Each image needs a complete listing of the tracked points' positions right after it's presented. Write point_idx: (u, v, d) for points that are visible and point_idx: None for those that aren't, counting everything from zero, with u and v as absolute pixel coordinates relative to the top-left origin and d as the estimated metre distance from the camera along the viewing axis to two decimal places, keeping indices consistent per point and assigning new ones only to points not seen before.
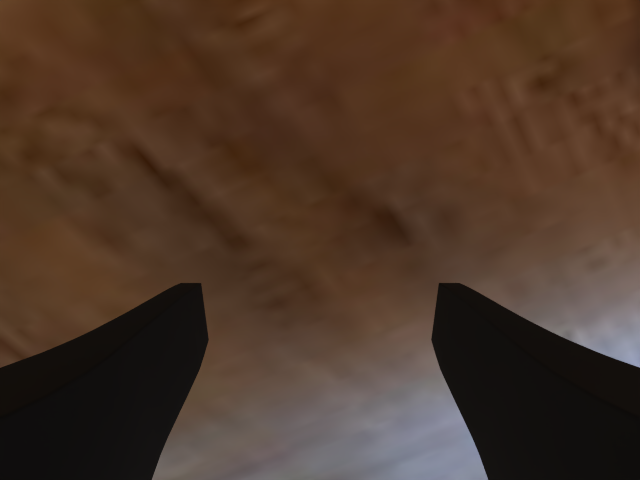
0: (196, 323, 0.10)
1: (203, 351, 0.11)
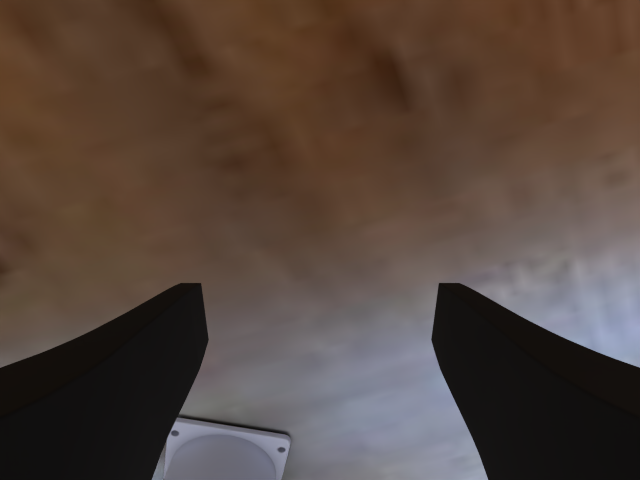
0: (196, 323, 0.10)
1: (203, 351, 0.11)
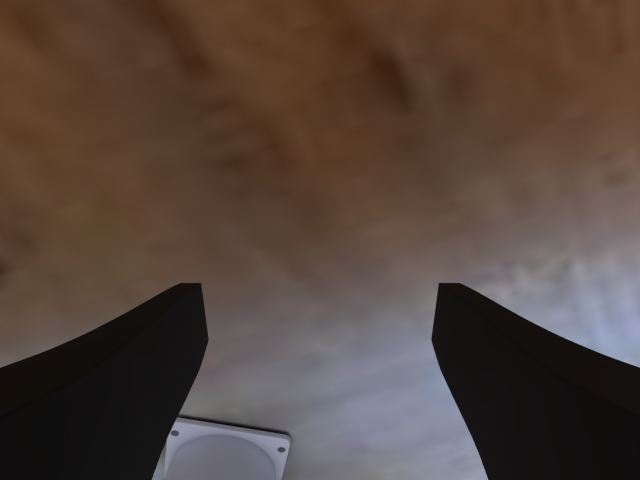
0: (196, 323, 0.10)
1: (203, 351, 0.11)
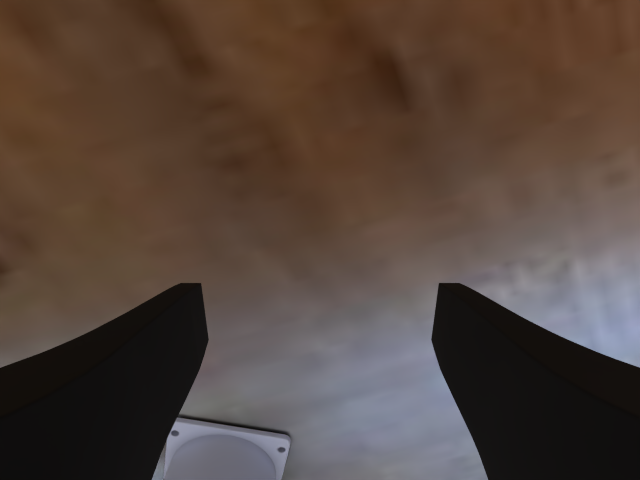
0: (196, 323, 0.10)
1: (203, 351, 0.11)
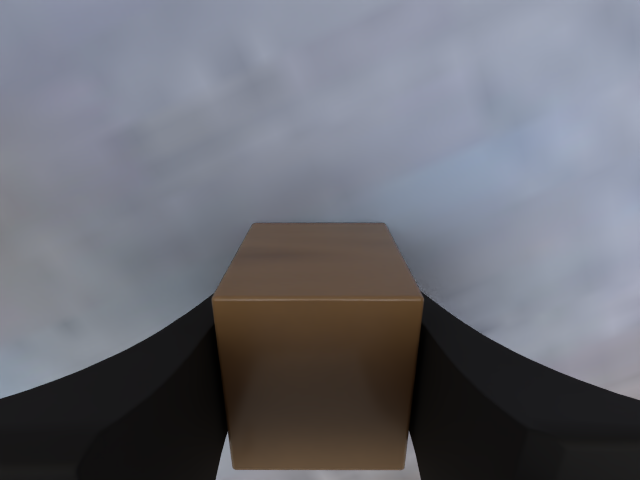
0: None
1: None
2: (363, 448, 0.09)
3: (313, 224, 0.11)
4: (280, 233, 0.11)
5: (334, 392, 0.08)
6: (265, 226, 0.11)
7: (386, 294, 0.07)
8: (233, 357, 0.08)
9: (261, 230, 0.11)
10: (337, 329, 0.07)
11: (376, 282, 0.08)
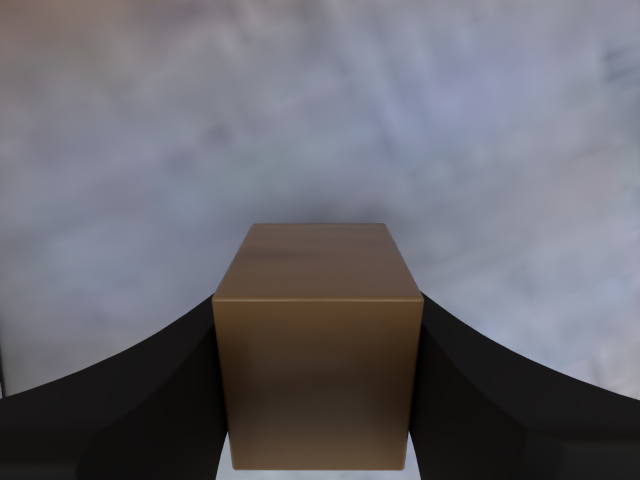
0: None
1: None
2: (362, 449, 0.09)
3: (313, 224, 0.11)
4: (280, 233, 0.11)
5: (334, 392, 0.08)
6: (265, 226, 0.11)
7: (386, 294, 0.07)
8: (233, 357, 0.08)
9: (261, 231, 0.11)
10: (337, 329, 0.07)
11: (376, 282, 0.08)
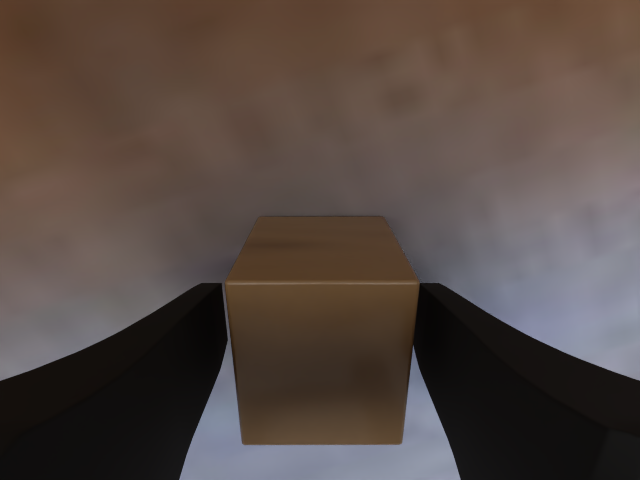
0: (217, 323, 0.10)
1: (223, 351, 0.11)
2: (363, 424, 0.09)
3: (316, 217, 0.12)
4: (285, 226, 0.11)
5: (337, 370, 0.09)
6: (270, 219, 0.12)
7: (384, 278, 0.08)
8: (244, 337, 0.08)
9: (266, 223, 0.11)
10: (340, 310, 0.08)
11: (376, 268, 0.08)
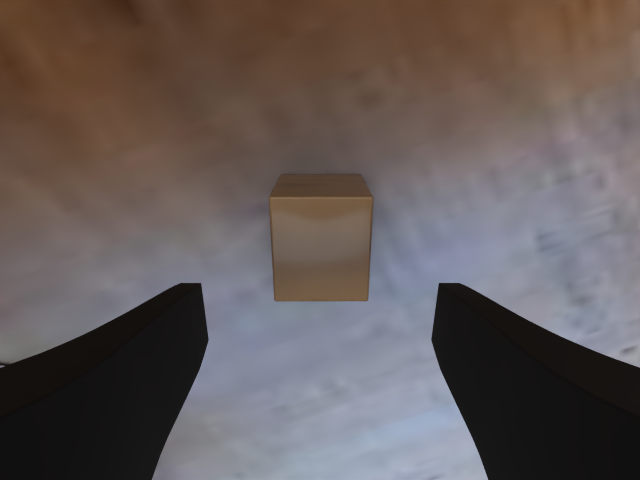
0: (196, 323, 0.10)
1: (203, 351, 0.11)
2: (345, 286, 0.16)
3: (317, 175, 0.19)
4: (298, 178, 0.18)
5: (329, 251, 0.15)
6: (288, 175, 0.19)
7: (354, 195, 0.15)
8: (278, 230, 0.15)
9: (286, 177, 0.18)
10: (330, 214, 0.15)
11: (350, 192, 0.15)
